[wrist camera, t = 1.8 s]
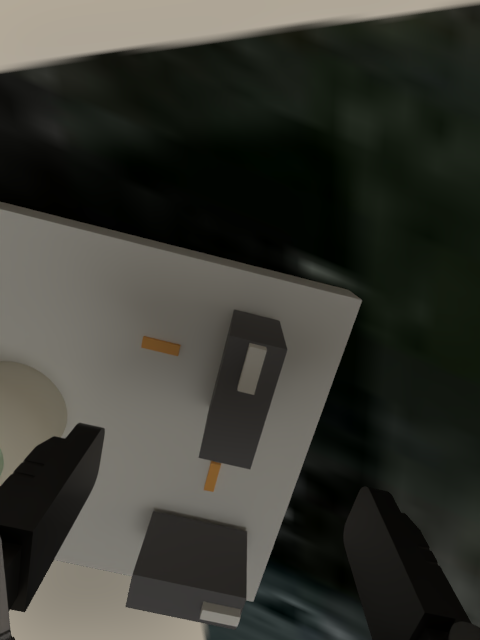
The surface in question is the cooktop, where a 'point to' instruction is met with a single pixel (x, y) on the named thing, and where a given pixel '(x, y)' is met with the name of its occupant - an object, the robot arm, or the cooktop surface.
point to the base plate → (154, 377)
